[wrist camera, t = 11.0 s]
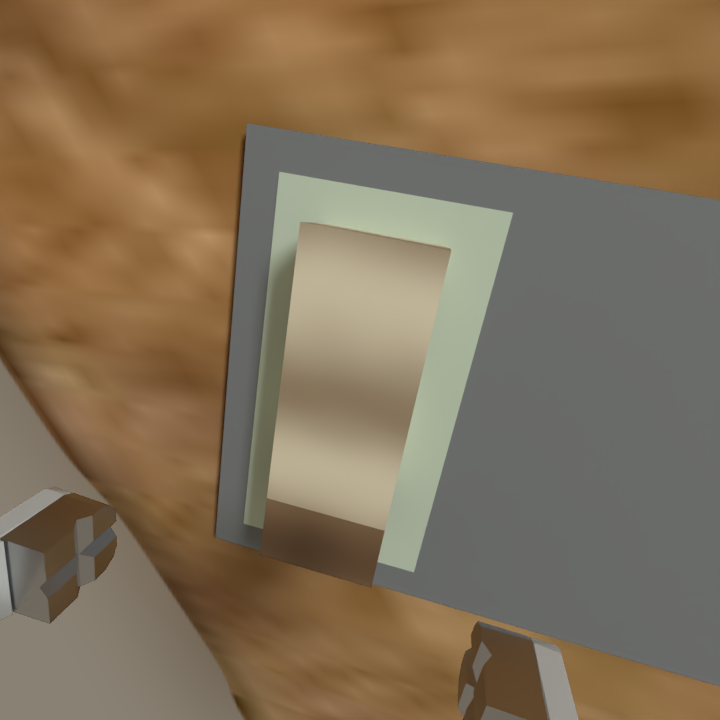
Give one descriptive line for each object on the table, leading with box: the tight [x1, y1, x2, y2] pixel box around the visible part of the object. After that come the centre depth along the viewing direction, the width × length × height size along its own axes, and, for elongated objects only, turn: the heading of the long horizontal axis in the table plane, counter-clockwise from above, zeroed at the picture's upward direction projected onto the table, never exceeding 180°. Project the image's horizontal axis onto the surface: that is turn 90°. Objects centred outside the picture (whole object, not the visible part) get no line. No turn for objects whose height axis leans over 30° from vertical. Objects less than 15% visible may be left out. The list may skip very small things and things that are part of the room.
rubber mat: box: [216, 123, 720, 686], centre depth 18 cm, size 28×20×1 cm
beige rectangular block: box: [260, 222, 451, 588], centre depth 17 cm, size 14×5×3 cm, turn 170°
